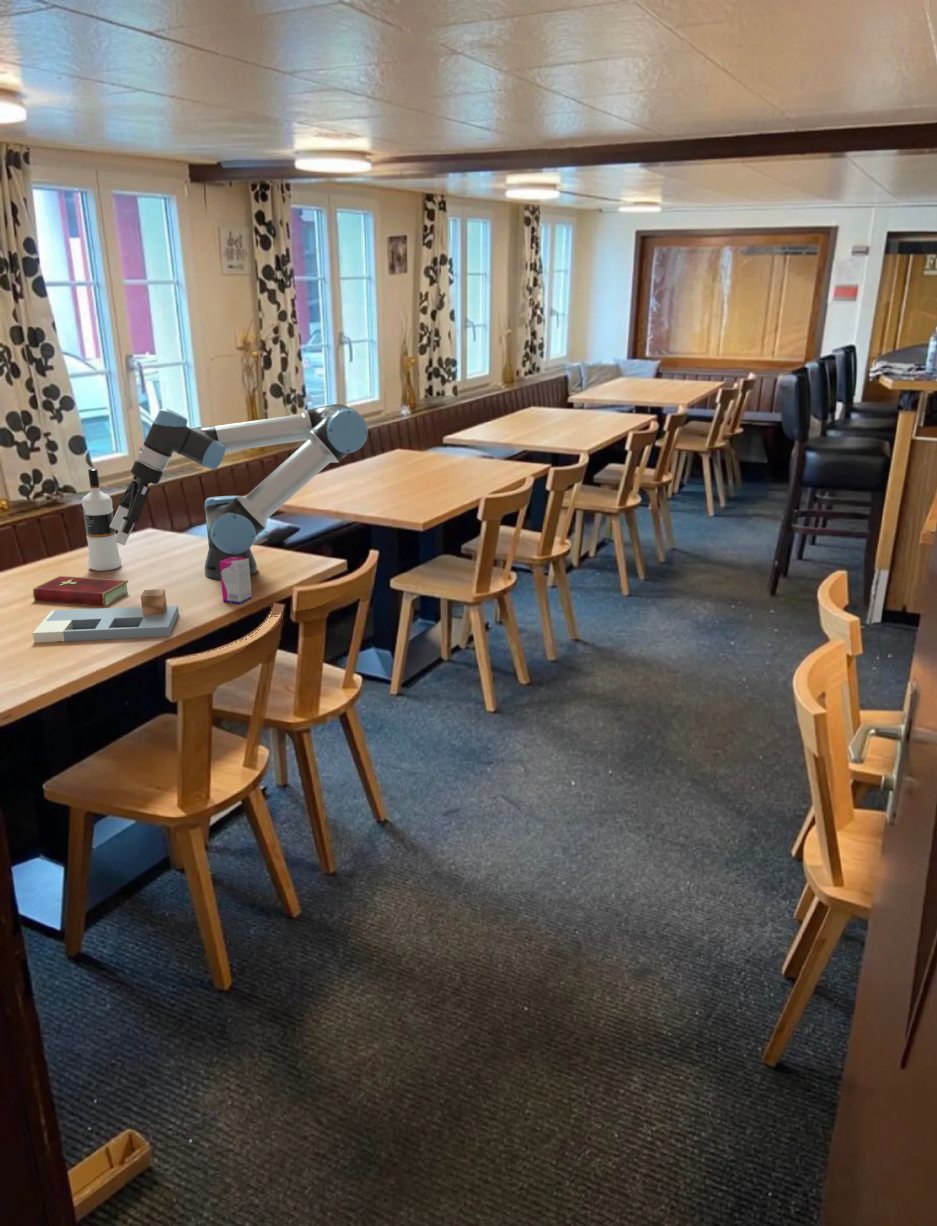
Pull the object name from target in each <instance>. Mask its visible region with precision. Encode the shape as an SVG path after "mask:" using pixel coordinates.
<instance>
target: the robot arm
mask: <svg viewBox="0 0 937 1226" xmlns="http://www.w3.org/2000/svg"><path fill="white" fill-rule="evenodd" d="M368 432H369V431H368V424H367V422H366V420H365V418H364V417H363V416H362V415H361V414H360V413H359V412H358V411H357V410H355V409H353V408H350V407H349V406H346V405H344V404H340V403H336V404H334V403H333V404H329V405H328V404H327V405H324V406H319V407H315V408H310V409H309V408H308V409H304V410H303V412H302V413H299V414H293V415H285V416H278V417H272V418H270V417H269V418H262V419H257V420H250V421H243V422H235V423H227V424H221V425H215V426H209V427H208V426H207V427H201V426H193V427H191V428H190V427H189V426H188V419H187V418H186V417H185V416H184V415H181V414H180V413H178V412H176V411H174V410H171V409H169V408H165V407H164V408H161V409H159V411H158V412H157V415H156V417H155V418H154V420H153V422H152V424H151V426H150V428H149V431H148V433H147V435H146V437H145V440H144V442H143V443H142V447H141V446H140V447H138V451H139V452H138V454H137V459H135V461H134V463H133V465H132V467H131V470H130V472H131V475H133V478H132V480H131V481H130V483H129V484H128V486H127V488H126V489H125V491H124V493H123V494H122V496H121V498H120V499H119V501H120V502H119V506H118V507H117V510H116V512H115V515H113V520H112V522H111V525H110V527H111V528H113V529H115V531H118V532H117V534H116V535H117V536H116V538H115V540H114V542H117V544H120V545H122V546H125V545H126V543H127V541H128V539H129V537H130V535H131V533H132V531H133V528H134V526H135V525H136V524H138V523H139V521H140V517H141V514H142V512H143V510H144V509H143V508H144V506H145V503H146V500H147V498H148V495H149V493H150V491H151V488H149V485H150V484H153V485H157V484H159V483H160V481H161V479H162V476H163V475H164V473H163V471H165V470H166V469H167V466H168V464H169V463H170V460H171V458H172V455H173V453H176V454H178V455H181V456H183V457H185V458H186V459H189V460H191V461H193V462H195V463H196V464H199V465H201V466H202V467H206V468H207V469H210V470H214V471H215V470H217V469H218V468H219V467H220V465H221V463H222V461H223V459H224V458H225V454H226V453H228V452H236V451H241V450H242V451H243V450H247V449H248V450H249V449H256V448H260V447H268V446H275V445H276V446H277V445H282V444H289V443H296V442H303V441H305V442H304V443H303V444H302V445H301V446H299V447H298V449H296V450H295V451H294V452H293V453H292V454H291V455H290V456H289V457H287V458H286V459H285V460H284V461H283V462H282V463H281V464H280V465H279V466H278V467H276V468H275V469H274V470H273V471H272V472H271V473H269V475H267V476H266V477H265V478H264V479H263V480H262V481H261V482H260V483H259V484H257V485H256V486H255V487H254V488H253V489H252V490H250V492H249V493H248V494H246V495H245V496H243V495H222V496H212V497H211V496H210V497H207V498H206V499H205V501H204V511H205V521H206V532H207V542H208V551H207V555H206V560H205V563H204V575H205V577H207V578H209V579H210V578H211V579H215V580H221V571H220V561H222V560H225V559H227V558H229V557H240V558H249V569H250V577H251V576H253V575H255V574H257V572H258V565H257V562H256V559H255V556H254V554H253V552H252V550H251V547H252V546H253V545H254V543H255V541H256V538H257V537H258V536H259V535H260V534H261V533H262V531H264V530H265V529H266V528H267V521H268V519H269V518H270V517H271V516H273V514H275V513H276V512H277V511H278V510H279V509H280V508H281V507H283V505H284V504H285V503H287V502H288V501H289V500H290V499H291V498H292V497H294V496H295V495H296V494H297V493H298V492H299V491H300V490H301V489H302V488H303V487H304V486H306V485H307V484H308V483H309V482H310V481H311V480H312V479H313V478H314V477H316V476H317V475H318V474H319V473H320V472H321V471H322V470H323V469H324V468H326V467H327V466H328V465H329V464H331V463H340V461H342V460H343V459H344V458H345V457H346V456H347V455H348V454H352V453H355V452H357V451H359V450H360V449H361V448H362V447H363V446H364V444H366V441H367V439H368V435H369V434H368Z"/></svg>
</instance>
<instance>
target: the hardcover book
mask: <svg viewBox="0 0 937 1226" xmlns="http://www.w3.org/2000/svg"><path fill="white" fill-rule="evenodd" d="M128 583H129V580H126V579H125V580H124V579H109V578H95V577H81V576H69V575H68V576H66V575H59V576H56V577H54V578H52V579H50V580H47V581H46V582H44V583H42V584H40V585H38V586H36V587H33V589H32V593H33V594H32V596H33V600H34V601H35V602H48V603H56V602H57V604H58V603H59V604H70V605H71V604H72V605H82V604H86V605H85V606H96V607H107V606H108V605H109V604H110V602H111V603H113V602H114V601H117V600H118V599H119V597H120V598H121V597H123V596H125V595H127V594H128V586H127V584H128ZM126 593H127V594H126Z"/></svg>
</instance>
